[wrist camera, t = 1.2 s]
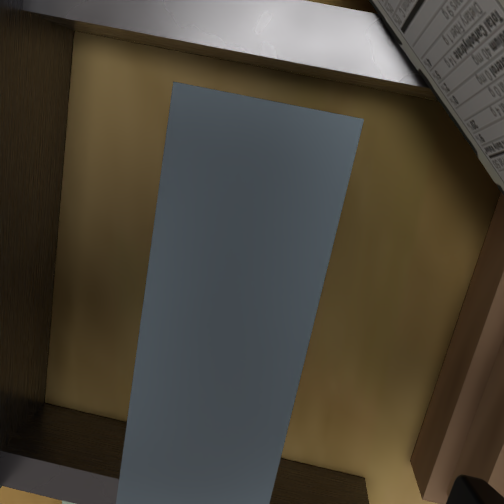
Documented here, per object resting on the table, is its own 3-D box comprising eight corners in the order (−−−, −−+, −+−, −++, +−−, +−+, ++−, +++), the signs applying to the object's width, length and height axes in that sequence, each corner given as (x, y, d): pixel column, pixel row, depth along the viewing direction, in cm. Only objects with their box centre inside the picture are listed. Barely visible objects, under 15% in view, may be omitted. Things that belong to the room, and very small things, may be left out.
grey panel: (330, 121, 16) (364, 118, 7) (261, 425, 19) (227, 672, 11) (243, 104, 16) (173, 81, 7) (189, 408, 19) (97, 638, 11)
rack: (496, 51, 15) (590, 16, 10) (353, 512, 20) (370, 637, 15) (33, -36, 16) (-87, -107, 11) (7, 430, 20) (-83, 525, 16)
